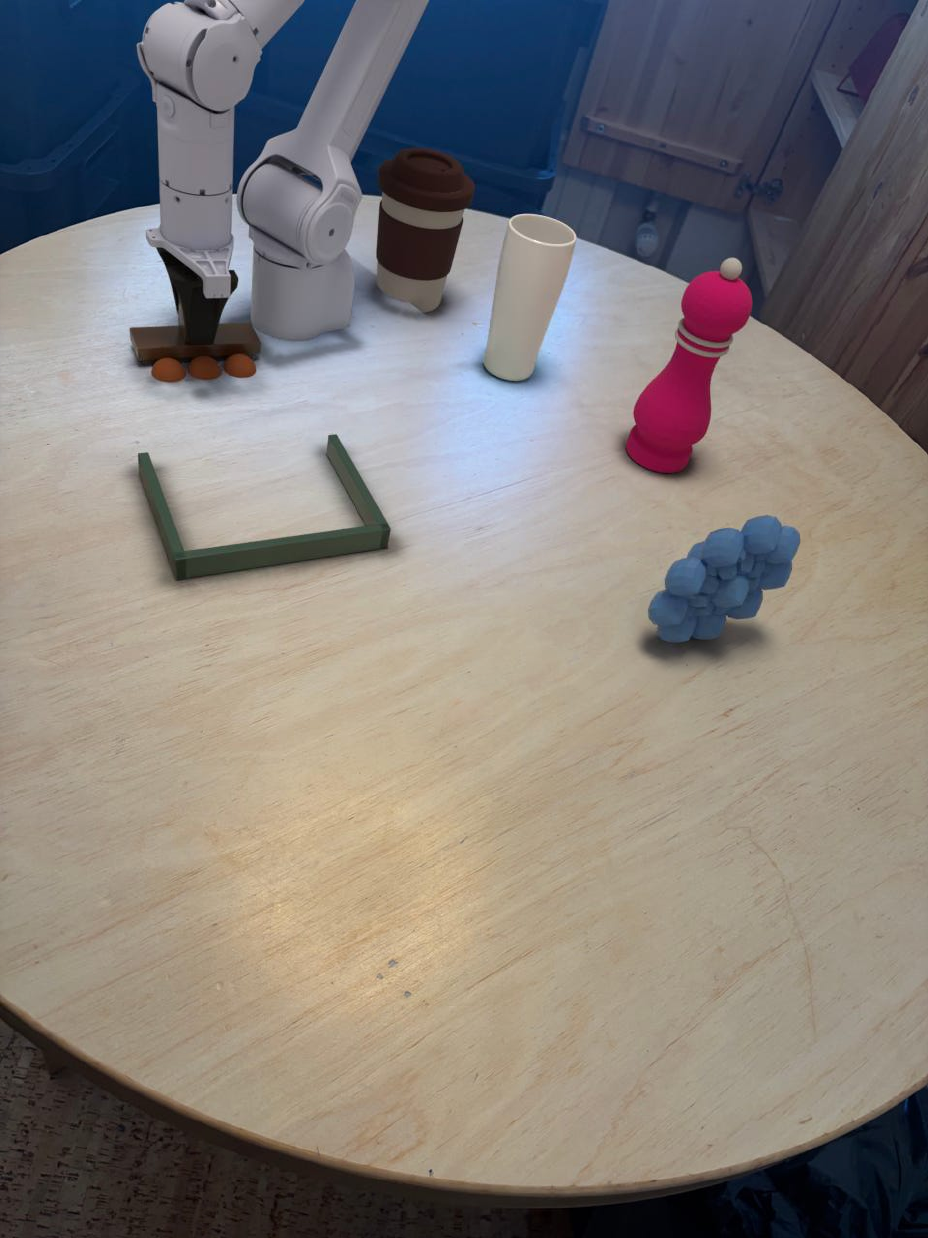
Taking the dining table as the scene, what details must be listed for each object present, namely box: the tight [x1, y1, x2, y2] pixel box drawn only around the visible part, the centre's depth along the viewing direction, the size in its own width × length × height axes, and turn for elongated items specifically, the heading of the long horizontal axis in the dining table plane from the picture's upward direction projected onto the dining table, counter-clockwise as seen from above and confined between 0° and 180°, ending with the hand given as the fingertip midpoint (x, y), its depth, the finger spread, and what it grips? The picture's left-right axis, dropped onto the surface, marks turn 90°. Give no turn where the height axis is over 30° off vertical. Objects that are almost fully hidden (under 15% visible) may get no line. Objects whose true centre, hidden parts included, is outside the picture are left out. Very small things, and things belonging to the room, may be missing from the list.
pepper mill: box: [625, 257, 753, 474], centre depth 86 cm, size 7×7×20 cm
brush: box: [129, 265, 262, 366], centre depth 85 cm, size 4×11×9 cm, turn 115°
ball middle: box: [187, 356, 223, 381], centre depth 86 cm, size 3×3×3 cm
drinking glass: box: [483, 213, 578, 382], centre depth 94 cm, size 7×7×15 cm
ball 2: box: [222, 354, 257, 379], centre depth 87 cm, size 3×3×3 cm
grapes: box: [647, 514, 801, 644], centre depth 72 cm, size 12×7×12 cm, turn 112°
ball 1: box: [150, 358, 187, 384], centre depth 85 cm, size 3×3×3 cm
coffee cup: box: [375, 147, 476, 314], centre depth 101 cm, size 10×10×15 cm
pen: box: [137, 433, 392, 581], centre depth 75 cm, size 13×17×2 cm
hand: (196, 333), depth 86 cm, fingers closed on brush, 2 cm apart
